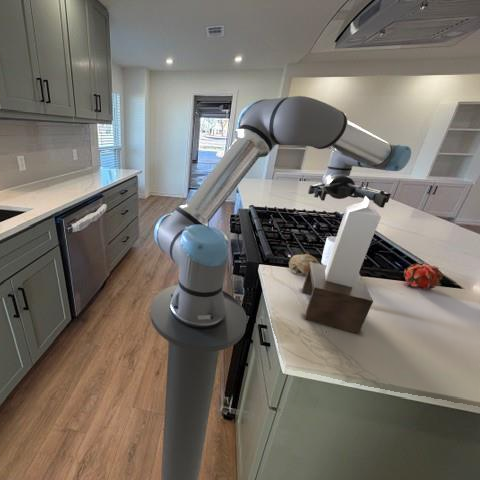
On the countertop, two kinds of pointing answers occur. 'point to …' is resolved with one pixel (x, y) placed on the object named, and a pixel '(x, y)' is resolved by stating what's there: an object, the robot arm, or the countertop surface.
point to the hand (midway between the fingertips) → (352, 199)
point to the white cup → (328, 249)
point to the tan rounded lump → (301, 263)
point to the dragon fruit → (423, 276)
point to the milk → (352, 243)
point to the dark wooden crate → (336, 301)
